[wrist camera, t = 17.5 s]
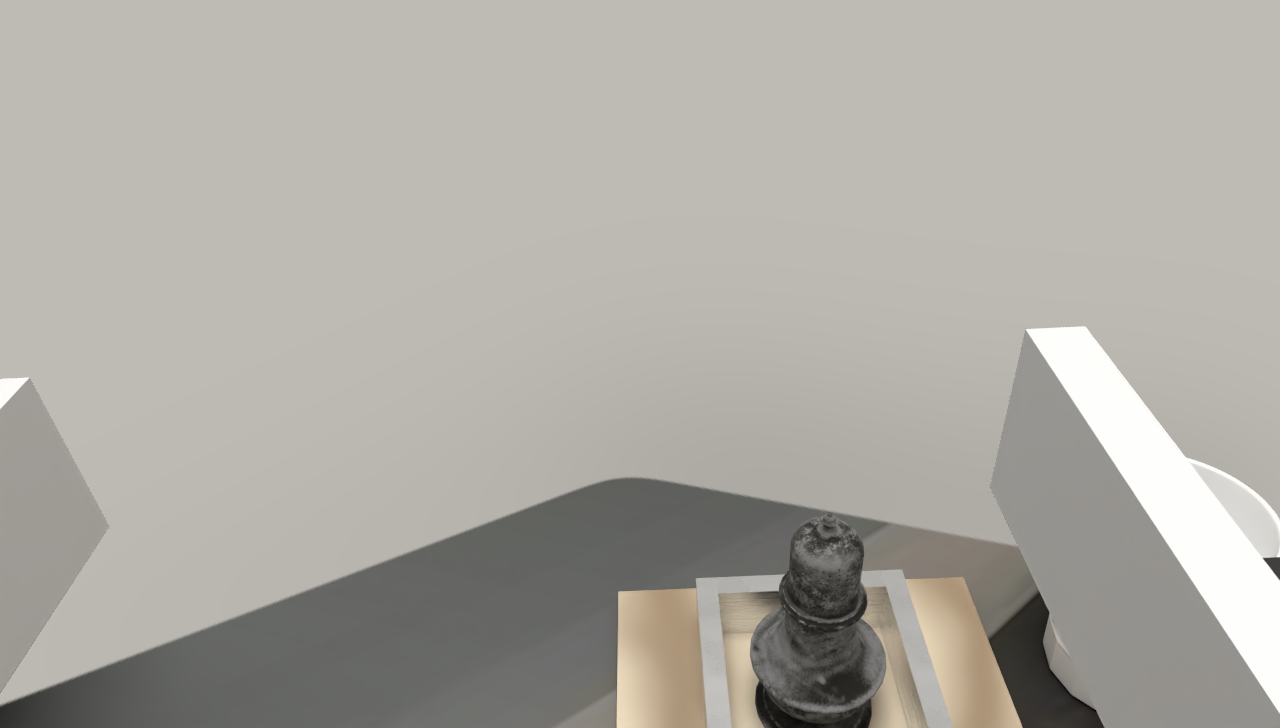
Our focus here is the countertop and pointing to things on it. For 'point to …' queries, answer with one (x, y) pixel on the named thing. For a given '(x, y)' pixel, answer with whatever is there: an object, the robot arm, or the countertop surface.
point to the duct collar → (889, 608)
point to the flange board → (672, 687)
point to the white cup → (1245, 511)
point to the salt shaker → (819, 636)
